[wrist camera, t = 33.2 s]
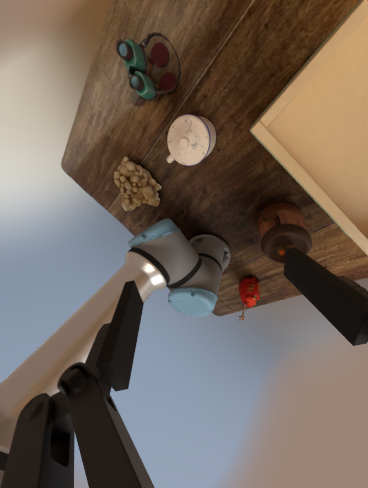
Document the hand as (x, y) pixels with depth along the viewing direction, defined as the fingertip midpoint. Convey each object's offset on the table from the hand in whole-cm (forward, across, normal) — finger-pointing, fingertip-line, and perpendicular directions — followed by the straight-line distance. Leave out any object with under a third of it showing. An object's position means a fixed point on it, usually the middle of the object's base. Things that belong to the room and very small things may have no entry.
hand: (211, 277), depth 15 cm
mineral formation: (+45, -11, +5) cm, 46 cm away
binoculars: (+38, +1, +26) cm, 46 cm away
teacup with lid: (+37, +5, +12) cm, 39 cm away
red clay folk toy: (+35, +17, -34) cm, 52 cm away
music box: (+31, +24, -10) cm, 40 cm away
